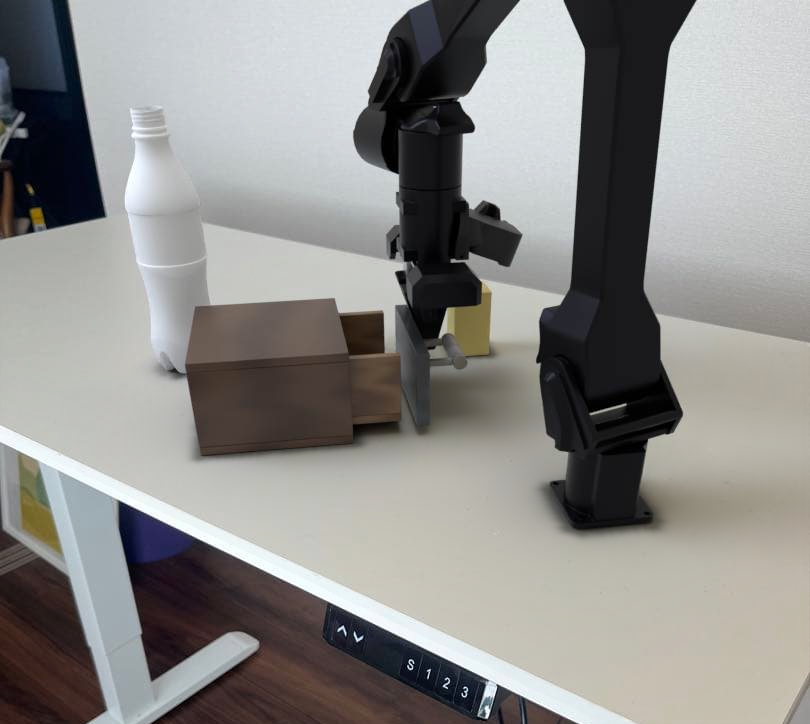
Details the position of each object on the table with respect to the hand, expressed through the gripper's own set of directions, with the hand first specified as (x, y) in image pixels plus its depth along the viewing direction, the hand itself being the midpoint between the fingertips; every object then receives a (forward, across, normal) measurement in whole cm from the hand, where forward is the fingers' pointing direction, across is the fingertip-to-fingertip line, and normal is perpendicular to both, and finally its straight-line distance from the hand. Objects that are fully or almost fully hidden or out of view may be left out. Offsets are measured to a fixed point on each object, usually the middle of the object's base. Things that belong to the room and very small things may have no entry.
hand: (429, 348), depth 83 cm
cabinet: (+4, -5, +16) cm, 17 cm away
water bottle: (+4, +9, +25) cm, 27 cm away
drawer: (+3, -5, +6) cm, 8 cm away
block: (+4, +8, -6) cm, 10 cm away
